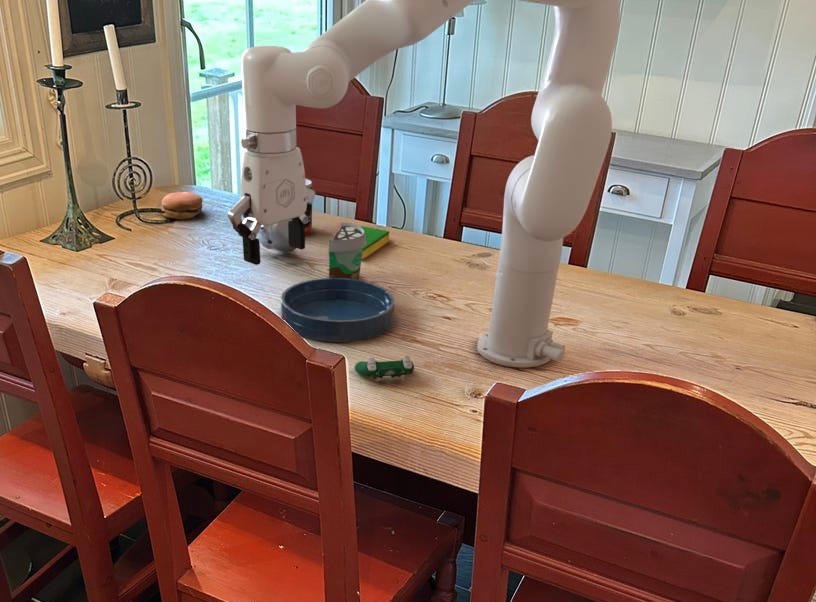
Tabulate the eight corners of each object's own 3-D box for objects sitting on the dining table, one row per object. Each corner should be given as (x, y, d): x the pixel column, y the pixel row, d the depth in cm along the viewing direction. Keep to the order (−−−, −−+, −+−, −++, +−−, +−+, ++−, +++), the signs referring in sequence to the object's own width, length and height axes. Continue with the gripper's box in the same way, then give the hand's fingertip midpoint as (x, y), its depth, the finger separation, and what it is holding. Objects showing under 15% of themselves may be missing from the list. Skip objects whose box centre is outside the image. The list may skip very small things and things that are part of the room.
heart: (295, 266, 173) (298, 205, 168) (250, 261, 174) (252, 201, 169) (305, 258, 182) (308, 200, 177) (262, 254, 184) (264, 196, 179)
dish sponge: (332, 254, 181) (333, 243, 180) (360, 236, 191) (361, 225, 190) (362, 260, 178) (363, 248, 177) (389, 241, 189) (390, 230, 187)
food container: (358, 295, 162) (360, 243, 157) (327, 291, 163) (328, 240, 158) (369, 272, 172) (372, 223, 167) (340, 270, 173) (341, 221, 168)
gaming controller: (355, 387, 135) (362, 376, 129) (353, 364, 136) (359, 352, 130) (411, 384, 137) (420, 372, 131) (409, 361, 137) (417, 349, 131)
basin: (416, 320, 153) (417, 299, 151) (339, 354, 141) (340, 332, 139) (335, 289, 164) (335, 269, 162) (258, 318, 152) (257, 297, 150)
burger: (166, 221, 196) (164, 201, 194) (158, 210, 203) (156, 190, 201) (208, 218, 199) (207, 198, 197) (198, 207, 206) (197, 187, 204)
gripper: (243, 155, 117) (250, 274, 127) (329, 135, 127) (329, 247, 137) (208, 146, 121) (217, 262, 131) (295, 128, 132) (297, 236, 141)
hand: (275, 254), depth 134 cm, fingers open, 9 cm apart
